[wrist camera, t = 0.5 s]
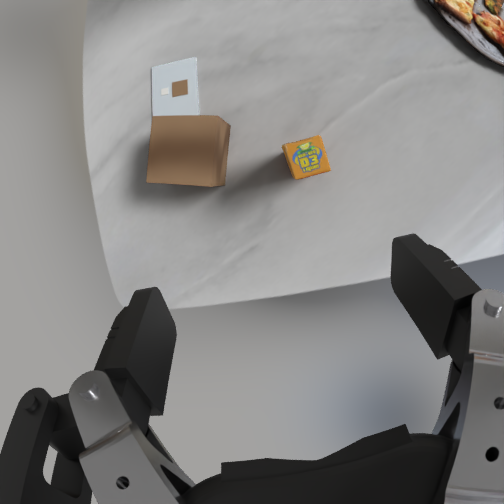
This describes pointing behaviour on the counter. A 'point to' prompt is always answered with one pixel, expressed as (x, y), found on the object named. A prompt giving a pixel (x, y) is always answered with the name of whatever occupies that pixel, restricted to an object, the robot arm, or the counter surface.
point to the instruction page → (175, 88)
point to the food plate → (476, 24)
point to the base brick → (188, 150)
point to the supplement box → (306, 157)
